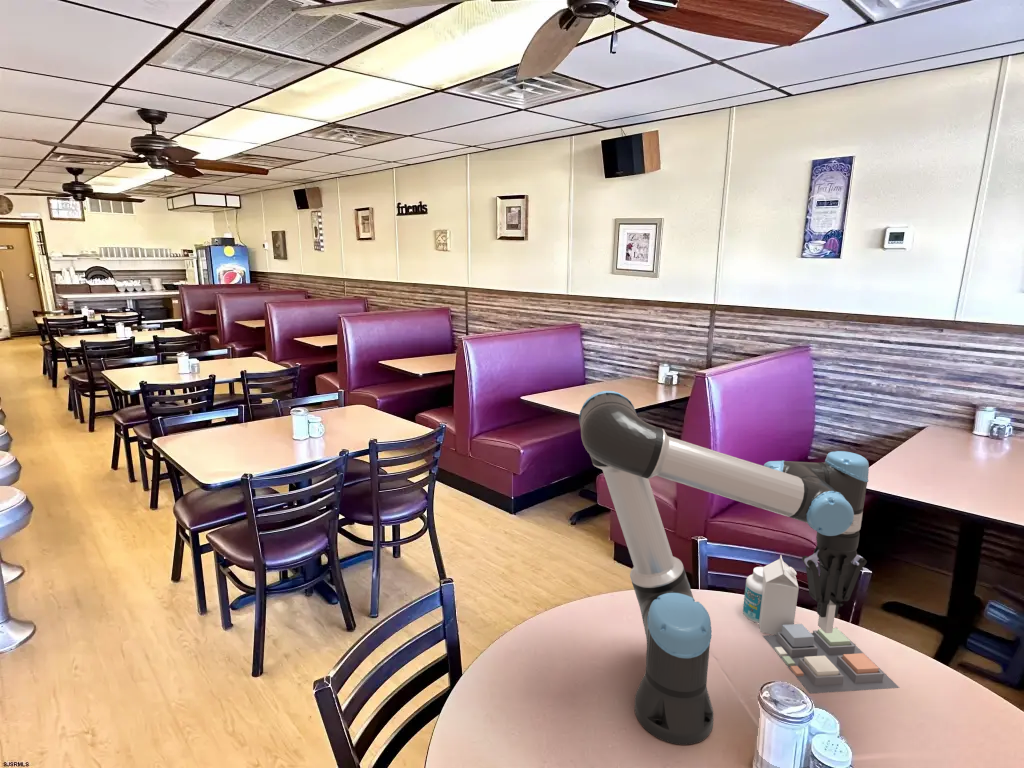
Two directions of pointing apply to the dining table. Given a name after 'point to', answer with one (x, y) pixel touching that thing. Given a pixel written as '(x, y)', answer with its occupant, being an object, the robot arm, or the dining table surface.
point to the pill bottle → (753, 595)
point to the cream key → (821, 666)
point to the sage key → (834, 637)
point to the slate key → (797, 635)
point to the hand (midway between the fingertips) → (824, 629)
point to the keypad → (846, 676)
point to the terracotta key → (860, 663)
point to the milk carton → (778, 597)
